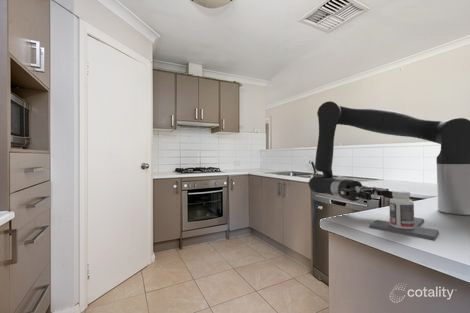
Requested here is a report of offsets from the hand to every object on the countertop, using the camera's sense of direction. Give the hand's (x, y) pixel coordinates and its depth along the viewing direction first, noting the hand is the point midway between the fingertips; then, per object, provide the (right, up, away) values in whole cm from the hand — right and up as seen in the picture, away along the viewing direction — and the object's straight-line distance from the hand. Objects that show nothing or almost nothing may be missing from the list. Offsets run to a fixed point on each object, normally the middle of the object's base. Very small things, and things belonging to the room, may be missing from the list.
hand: (382, 196), depth 67 cm
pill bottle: (+1, -8, -6) cm, 10 cm away
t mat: (+6, -8, -2) cm, 10 cm away
